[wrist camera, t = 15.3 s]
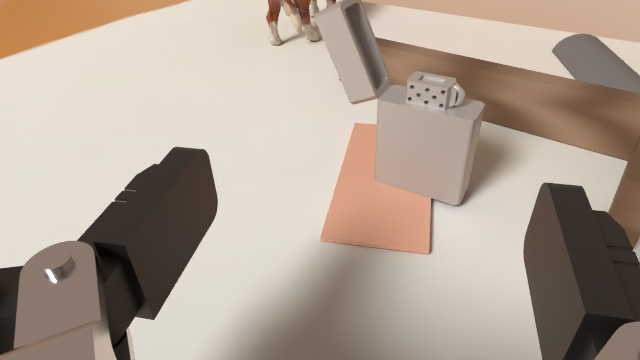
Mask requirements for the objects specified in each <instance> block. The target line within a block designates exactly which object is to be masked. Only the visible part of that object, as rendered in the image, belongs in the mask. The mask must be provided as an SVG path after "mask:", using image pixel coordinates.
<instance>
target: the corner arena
mask: <svg viewBox="0 0 640 360" xmlns="http://www.w3.org/2000/svg"><path fill="white" fill-rule="evenodd" d="M375 39H376V41H377V44H378V46H379V49H380V52H381V54H382V57H383V59H384V62H385V65H386V67H387V70H388V73H389V75H390V78H391V80H392V81H391V85H401V86H406V85H407V79H408V78H409V77H410V76H411V75H412V74H413V73H414V72H415V71H420V72H425V73H430V74H436V75H441V76H447V77H452V78H456V82H457V83H458V84H459V85H460V86H461V87H462V88H463V89H464V90H465V93H466V99H471V100H476V101H481V102H483V103H484V104H485V107H484V112H483V117H482V120H484V121H488V122H491V123H495V124H498V125H502V126H505V127H509V128H513V129H516V130H520V131H523V132H527V133H531V134H534V135H538V136H541V137H545V138H548V139H552V140H556V141H559V142H563V143H566V144H570V145H573V146H577V147H581V148H584V149H588V150H591V151H595V152H599V153H602V154H606V155H609V156H613V157H616V158H620V159H624V160H627V161H628V163H627V166H626V168H625V171H624V174H623V176H622V179H621V181H620V184H619V186H618V189H617V192H616V194H615V197H614V199H613V202H612V204H611V207H610V210H609V212H608V214H609V215H610V216H611V217H612V218H613V219H614V220H615V221H616V222H617V223H619V224H620V225H621V226H622V227H623V228H624V230H625V232H626V234H627V236H628V238H629V241H630V243H631V245H632V247H634V245H635V243H636V241H637V239H638V238H639V236H640V94H639V93H635V92H630V91H625V90H620V89H616V88H611V87H606V86H602V85H597V84H592V83H588V82H583V81H578V80H573V79H569V78H564V77H559V76H555V75H550V74H545V73H541V72H536V71H531V70H526V69H522V68H517V67H512V66H508V65H503V64H498V63H494V62H489V61H484V60H480V59H475V58H470V57H465V56H461V55H456V54H451V53H447V52H442V51H437V50H433V49H428V48H423V47H418V46H414V45H409V44H404V43H400V42H395V41H390V40H386V39H381V38H376V37H375ZM339 80H340V78H339Z"/></svg>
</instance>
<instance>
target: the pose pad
mask: <svg viewBox="0 0 640 360" xmlns="http://www.w3.org/2000/svg"><path fill="white" fill-rule="evenodd" d="M376 133H377V125H374V124H360V123H355V125H354V128H353V131H352V135H351V138H350V141H349V145H348V148H347V151H346V155H345V158H344V161H343V164H342V168H341V171H340V174H339V178H338V181H337V184H336V188H335V191H334V194H333V197H332V201H331V204H330V207H329V211H328V214H327V217H326V221H325V224H324V227H323V230H322V234H321V241H328V242H336V243H344V244H352V245H360V246H368V247H376V248H384V249H392V250H400V251H408V252H416V253H424V254H429V247H430V216H431V198H428V197H425V196H421V195H418V194H415V193H411V192H408V191H405V190H401V189H398V188H395V187H391V186H388V185H385V184H381V183H378V182H376V181H375V179H374V176H375V155H376Z"/></svg>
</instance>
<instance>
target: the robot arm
mask: <svg viewBox="0 0 640 360" xmlns="http://www.w3.org/2000/svg"><path fill="white" fill-rule="evenodd" d="M217 205H218V199H217V193H216V188H215V183H214V179H213V174H212V169H211V164H210V159H209V156H208V153H207V152H206V151H205V150H204V149H194V148H183V147H174V148H173V149H172V150H171V151H170V152H169V153H168V154H167V155H166V157H165V158H164V159H163V160H162V161H161V162H160V164H154V165H152V166H150V167H149V168H147V169H145V170H144V171H142V172H141V173H139V174H137V175H136V176H135V177H134V178H133V179H132V181H131V182H130V183H129V184H128V185H127V186H126V187H125V190H124V191H122V192H121V193H120V194H119V195H118V196H117V197H116V198H115V202H112V203H111V204H110V205H109V206H108V207H107V208H106V209H105V210H104V212H103V213H102V214H101V215H100V216H99V217H98V218H97V219H96V220H95V221H94V223H93V224H92V225H91V226H90V227H89V228H88V229H87V230H86V231H85V233H84V234H83V235H82V236H81V237H80V238H79V239H78V240H77V241H66V242H61V243H57V244H54V245H51V246H49V247H47V248H45V249H43V250H41V251H40V252H38V253H37V254H35V255H34V256H33V257H32V258H30V259H29V260H28V261H27V263H26V264H25V265H24V266H18V267H9V268H1V269H0V360H135V356H134V350H133V343H132V337H131V333H130V330H129V328H128V327H129V325H130V324H131V322H132V321H133V319H134V318H135V317H139V318H145V319H151V320H154V319H155V317H156V316H157V314H158V312H159V311H160V309H161V307H162V306H163V304H164V302H165V301H166V299H167V297H168V296H169V294H170V292H171V291H172V289H173V287H174V286H175V284H176V282H177V281H178V279H179V277H180V276H181V274H182V272H183V271H184V269H185V267H186V266H187V264H188V262H189V261H190V259H191V257H192V256H193V254H194V252H195V251H196V249H197V247H198V246H199V244H200V242H201V241H202V239H203V237H204V236H205V234H206V232H207V231H208V229H209V227H210V226H211V224H212V222H213V220H214V218H215V216H216V212H217ZM632 250H633V247H632V245H631V243H630V241H629V238H628V236H627V234H626V232H625V230H624V228H623V227H622V226H621V225H620V224H619V223H617V222H616V221H615V220H614V219H613V218H612V217H611V216H610V215H609V214H608V213H607V212H605V211H595V210H592V208H591V206H590V203H589V201H588V198H587V196H586V193H585V191H584V189H583V187H582V186H575V185H565V184H554V183H543V184H542V186H541V188H540V190H539V193H538V196H537V200H536V203H535V206H534V209H533V212H532V215H531V219H530V222H529V225H528V228H527V231H526V235H525V240H524V263H525V268H526V273H527V279H528V284H529V290H530V295H531V300H532V306H533V311H534V316H535V322H536V327H537V333H538V338H539V343H540V349H541V354H542V360H640V263H639V260H638V258H637V256H636V254H635V252H633V251H632Z"/></svg>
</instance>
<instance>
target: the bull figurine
mask: <svg viewBox="0 0 640 360" xmlns="http://www.w3.org/2000/svg"><path fill="white" fill-rule="evenodd" d="M326 1H327V7H329V6H331V5H333V4H335V2H336V0H326ZM268 3H269V11H268V13H267V16H266V18H267V21H268V24H269V28H270V37H269V41H270V42H271V44H272V45H276V46H277V45H281V44H282V41H281V38H280V37H279V34H278V30H277V22H278V16H279V13H280V8H281V5H282V6H283V9H284V11H285V13H286V15H287V16H290V18H291V21H292V23H293V25H294V27H295V29H296V31H297V33H298V34H300V33H301V32H302V25H303V27H304V29H305V31H306V34H305V38H306V39H307V40H308V39H309V40H312V41H318V40H320V37H319V36H318V34H317V33H316V32H315V30H314V29H313V28H312V26H311V22H310V16H311V17H313V18H315V14H316V13H318V12H319V9H318V6H317V0H268ZM310 3H311V9H310V12H309V5H310ZM297 8H298V9H297ZM301 24H302V25H301Z"/></svg>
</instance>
